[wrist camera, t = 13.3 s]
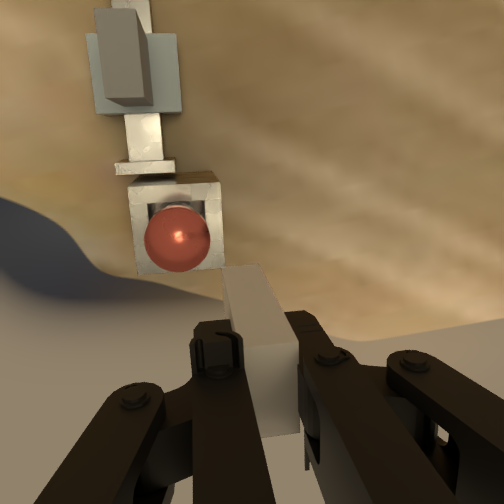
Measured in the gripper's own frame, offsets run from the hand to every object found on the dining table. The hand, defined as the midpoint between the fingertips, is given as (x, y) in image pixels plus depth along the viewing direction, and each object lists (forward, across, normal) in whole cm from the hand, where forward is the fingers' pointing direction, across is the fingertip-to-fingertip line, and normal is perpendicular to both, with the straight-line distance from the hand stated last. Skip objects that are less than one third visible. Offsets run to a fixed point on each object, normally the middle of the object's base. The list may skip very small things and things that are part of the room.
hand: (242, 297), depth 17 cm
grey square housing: (+27, +3, +1) cm, 27 cm away
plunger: (+21, +3, +1) cm, 21 cm away
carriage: (+27, +6, -11) cm, 30 cm away
